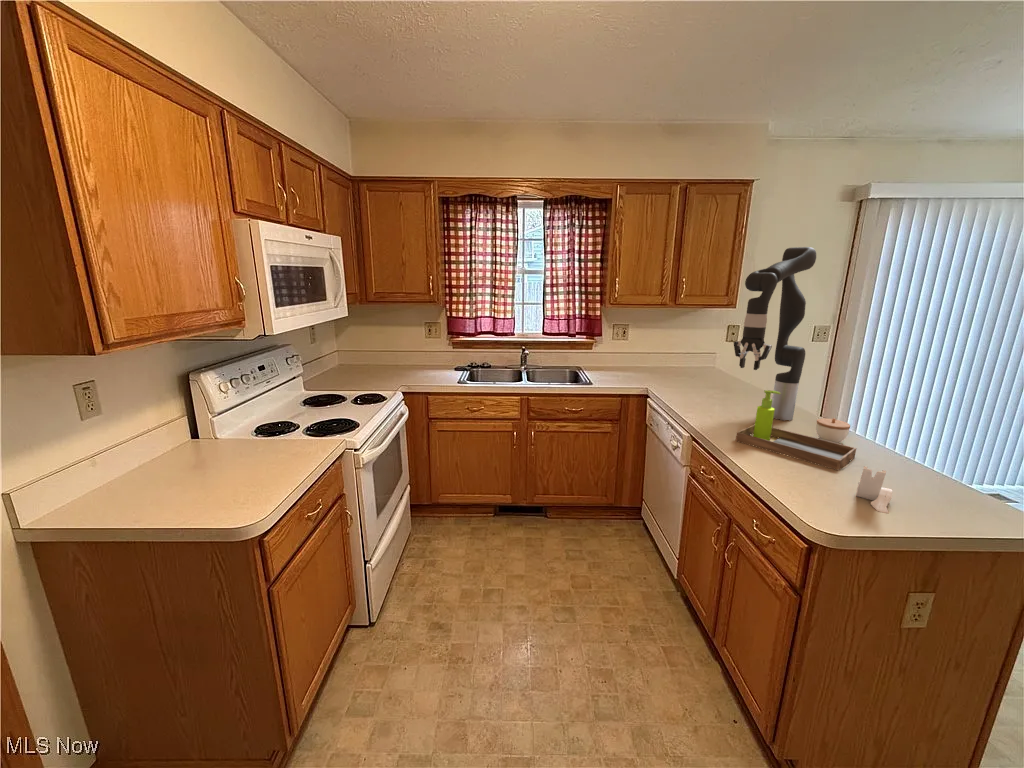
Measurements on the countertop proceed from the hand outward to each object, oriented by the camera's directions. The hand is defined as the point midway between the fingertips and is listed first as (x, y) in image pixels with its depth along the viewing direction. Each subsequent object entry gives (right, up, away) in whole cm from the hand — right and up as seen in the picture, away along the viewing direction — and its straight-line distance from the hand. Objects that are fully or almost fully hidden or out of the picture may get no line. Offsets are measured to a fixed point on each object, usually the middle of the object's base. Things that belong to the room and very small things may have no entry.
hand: (748, 368), depth 174 cm
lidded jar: (+32, -29, -1) cm, 43 cm away
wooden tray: (+11, -30, -9) cm, 34 cm away
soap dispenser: (+5, -28, 0) cm, 29 cm away
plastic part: (+9, -40, -48) cm, 64 cm away
